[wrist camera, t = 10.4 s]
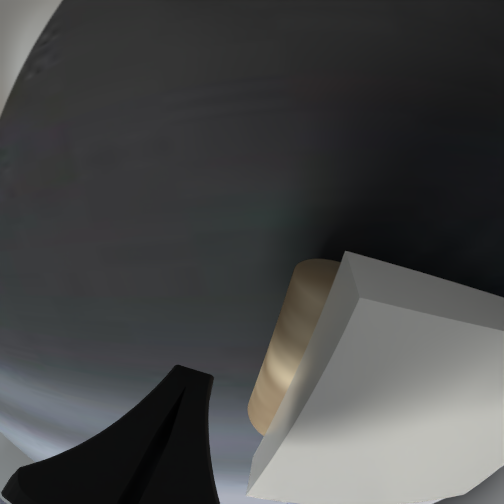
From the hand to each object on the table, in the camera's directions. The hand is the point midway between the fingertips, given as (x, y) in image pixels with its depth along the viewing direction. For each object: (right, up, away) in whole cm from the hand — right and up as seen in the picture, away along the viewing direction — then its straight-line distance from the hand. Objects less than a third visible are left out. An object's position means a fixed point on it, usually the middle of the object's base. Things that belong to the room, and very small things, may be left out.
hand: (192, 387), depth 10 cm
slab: (+10, -2, 0) cm, 10 cm away
